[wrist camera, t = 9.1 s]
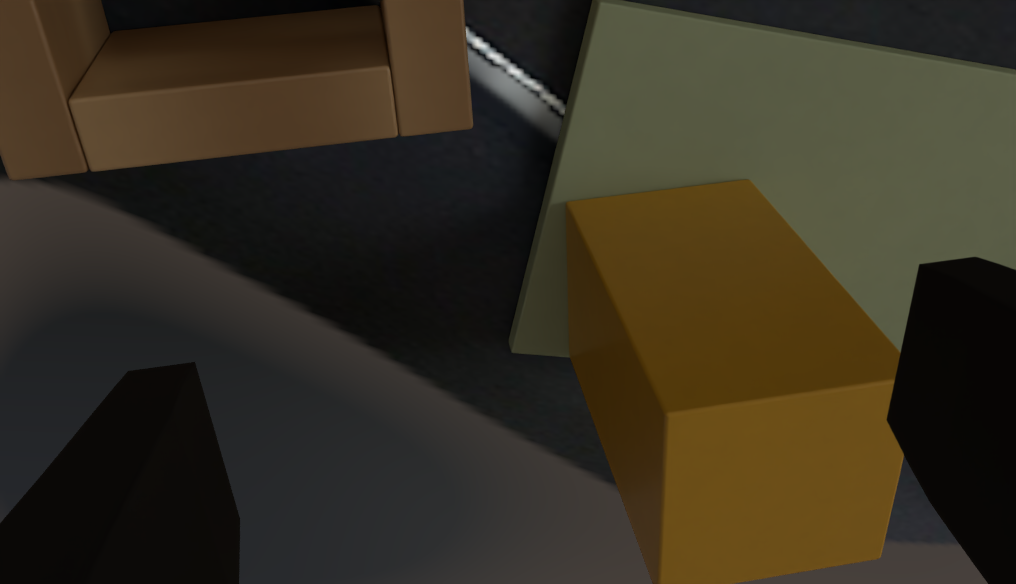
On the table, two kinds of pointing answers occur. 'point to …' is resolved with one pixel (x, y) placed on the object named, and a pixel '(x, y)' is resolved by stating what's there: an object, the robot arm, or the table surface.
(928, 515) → the table surface
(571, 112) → the mat
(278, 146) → the stand
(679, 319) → the block
